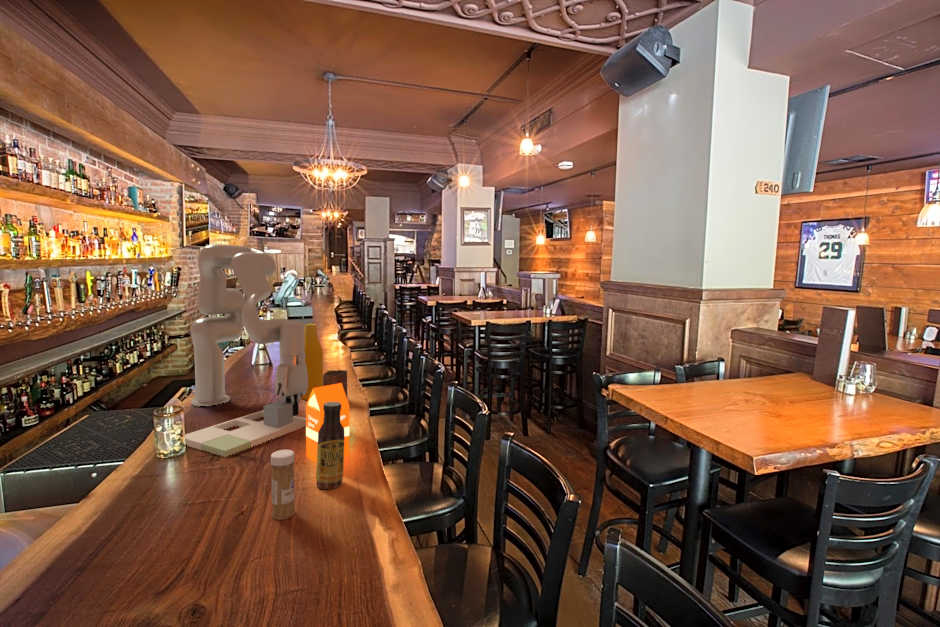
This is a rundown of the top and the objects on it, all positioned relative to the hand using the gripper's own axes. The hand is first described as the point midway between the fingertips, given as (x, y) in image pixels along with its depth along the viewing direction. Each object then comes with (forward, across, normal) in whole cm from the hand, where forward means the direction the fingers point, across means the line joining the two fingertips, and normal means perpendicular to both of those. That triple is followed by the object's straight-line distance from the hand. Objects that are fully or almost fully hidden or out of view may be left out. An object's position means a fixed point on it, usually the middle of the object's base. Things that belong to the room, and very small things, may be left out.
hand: (292, 414), depth 151 cm
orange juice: (+4, +14, +28) cm, 31 cm away
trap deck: (+3, +13, -5) cm, 14 cm away
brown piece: (+3, 0, +18) cm, 18 cm away
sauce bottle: (+3, +26, +40) cm, 48 cm away
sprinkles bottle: (+4, +41, +41) cm, 58 cm away
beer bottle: (+3, -26, -18) cm, 32 cm away
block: (+1, +6, 0) cm, 6 cm away
